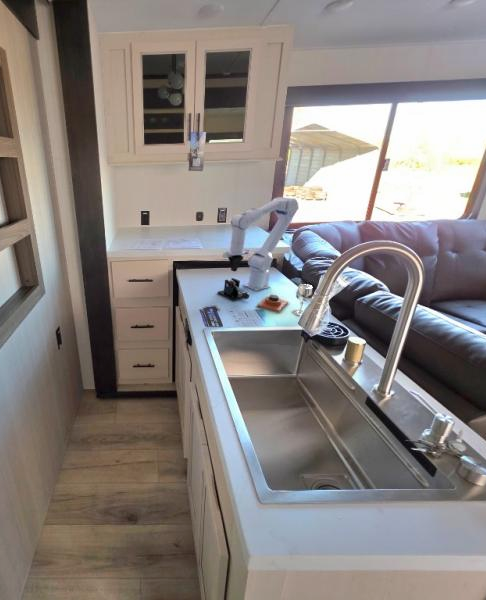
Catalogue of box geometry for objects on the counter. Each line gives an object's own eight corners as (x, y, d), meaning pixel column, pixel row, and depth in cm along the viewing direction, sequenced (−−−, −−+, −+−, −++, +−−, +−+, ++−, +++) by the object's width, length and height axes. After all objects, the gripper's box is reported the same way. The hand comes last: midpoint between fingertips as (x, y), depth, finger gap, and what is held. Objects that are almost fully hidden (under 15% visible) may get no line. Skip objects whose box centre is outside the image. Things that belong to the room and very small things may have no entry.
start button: (270, 297, 138) (271, 293, 137) (279, 299, 136) (279, 296, 135) (267, 300, 135) (268, 296, 134) (276, 302, 133) (277, 298, 132)
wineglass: (300, 317, 126) (307, 289, 121) (288, 312, 130) (294, 285, 125) (310, 314, 128) (316, 287, 123) (298, 309, 133) (304, 282, 128)
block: (267, 298, 143) (268, 292, 142) (287, 303, 138) (288, 297, 137) (257, 307, 135) (258, 300, 134) (278, 313, 130) (279, 306, 128)
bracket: (244, 298, 144) (246, 282, 141) (233, 301, 140) (235, 285, 137) (228, 291, 152) (230, 275, 148) (217, 293, 148) (219, 278, 145)
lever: (249, 299, 139) (251, 294, 137) (244, 301, 137) (246, 295, 135) (231, 284, 146) (233, 279, 144) (226, 285, 145) (228, 280, 143)
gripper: (232, 245, 135) (228, 275, 141) (255, 242, 142) (251, 270, 147) (221, 242, 141) (217, 271, 146) (243, 239, 148) (239, 266, 153)
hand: (233, 270), depth 147 cm, fingers closed
